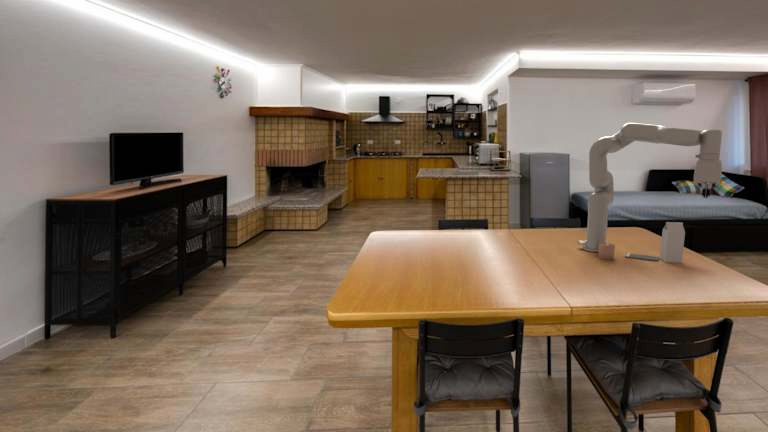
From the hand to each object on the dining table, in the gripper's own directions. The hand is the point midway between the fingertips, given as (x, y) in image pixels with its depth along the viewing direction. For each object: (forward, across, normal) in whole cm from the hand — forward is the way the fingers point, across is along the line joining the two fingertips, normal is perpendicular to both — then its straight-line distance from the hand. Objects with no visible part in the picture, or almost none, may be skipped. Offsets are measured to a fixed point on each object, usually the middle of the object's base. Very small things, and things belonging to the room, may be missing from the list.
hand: (705, 197), depth 206 cm
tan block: (+31, -38, -12) cm, 51 cm away
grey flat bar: (+31, -23, -1) cm, 39 cm away
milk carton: (+32, -11, 0) cm, 34 cm away
